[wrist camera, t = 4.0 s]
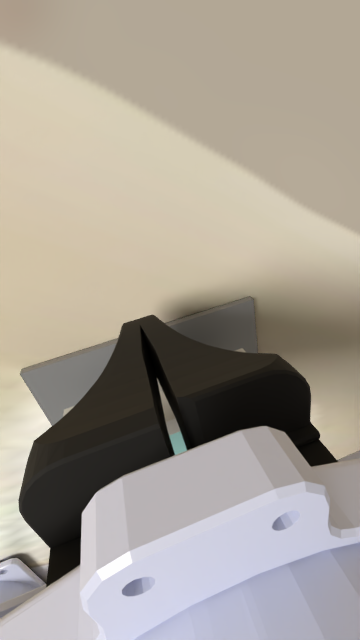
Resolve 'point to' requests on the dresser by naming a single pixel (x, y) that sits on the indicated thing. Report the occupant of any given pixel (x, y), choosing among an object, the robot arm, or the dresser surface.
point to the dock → (88, 364)
